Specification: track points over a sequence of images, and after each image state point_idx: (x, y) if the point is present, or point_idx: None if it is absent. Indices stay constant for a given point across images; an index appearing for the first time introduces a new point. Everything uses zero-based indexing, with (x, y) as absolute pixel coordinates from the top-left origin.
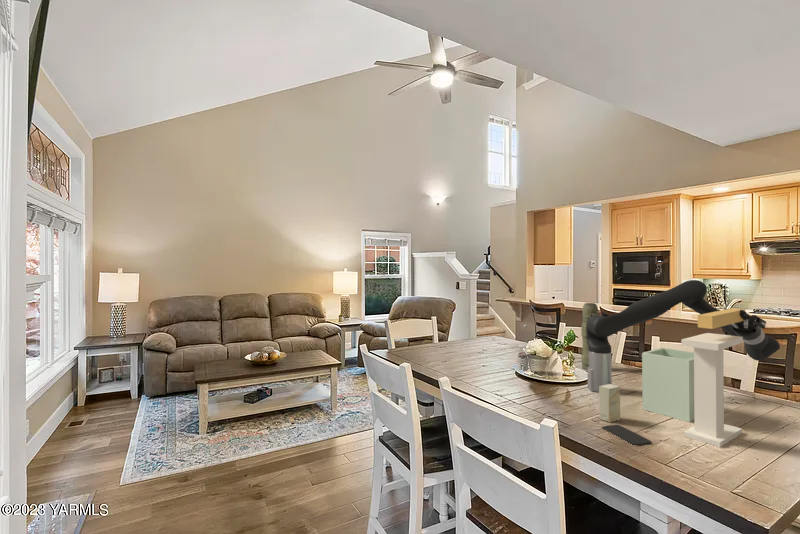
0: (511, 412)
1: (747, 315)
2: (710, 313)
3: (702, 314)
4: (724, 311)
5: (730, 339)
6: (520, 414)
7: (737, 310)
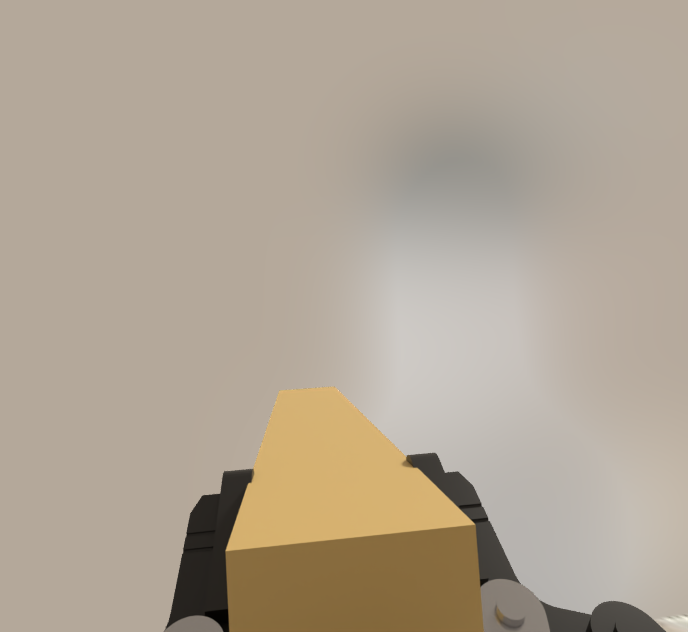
0: (674, 616)
1: (179, 617)
2: (327, 397)
3: (331, 390)
4: (321, 422)
5: None
6: (659, 623)
7: (270, 461)
